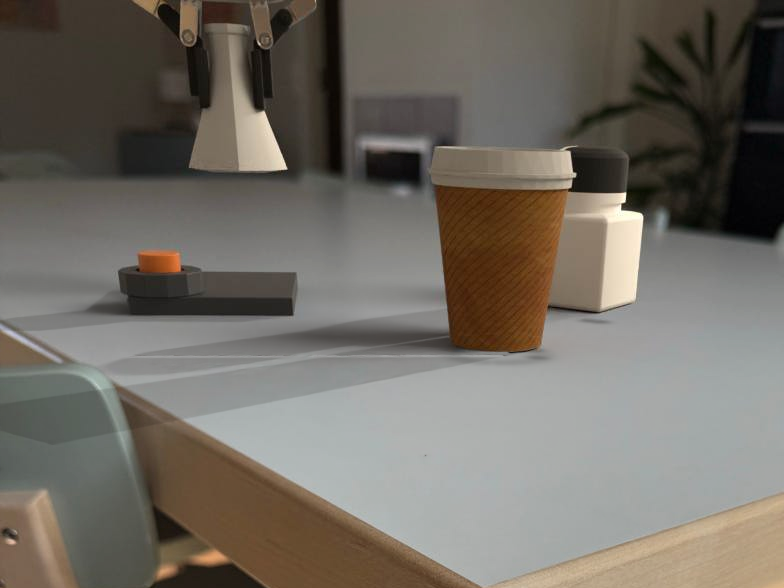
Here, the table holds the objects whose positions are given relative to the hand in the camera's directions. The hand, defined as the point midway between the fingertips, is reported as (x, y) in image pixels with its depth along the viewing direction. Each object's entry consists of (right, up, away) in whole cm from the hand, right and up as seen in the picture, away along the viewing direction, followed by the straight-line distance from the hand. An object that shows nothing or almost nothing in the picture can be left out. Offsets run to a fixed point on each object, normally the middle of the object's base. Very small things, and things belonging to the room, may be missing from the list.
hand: (233, 106), depth 76 cm
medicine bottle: (+28, -13, +8) cm, 32 cm away
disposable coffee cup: (+20, -21, -8) cm, 30 cm away
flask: (0, -4, +2) cm, 5 cm away
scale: (-2, -14, +4) cm, 14 cm away
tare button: (-5, -14, -2) cm, 15 cm away
